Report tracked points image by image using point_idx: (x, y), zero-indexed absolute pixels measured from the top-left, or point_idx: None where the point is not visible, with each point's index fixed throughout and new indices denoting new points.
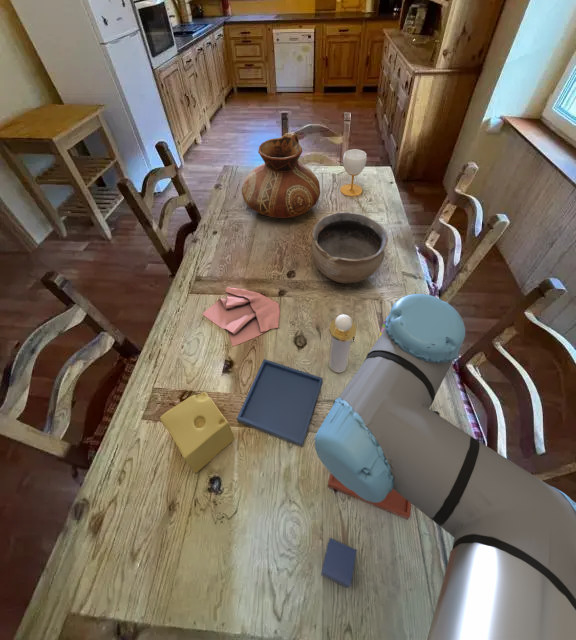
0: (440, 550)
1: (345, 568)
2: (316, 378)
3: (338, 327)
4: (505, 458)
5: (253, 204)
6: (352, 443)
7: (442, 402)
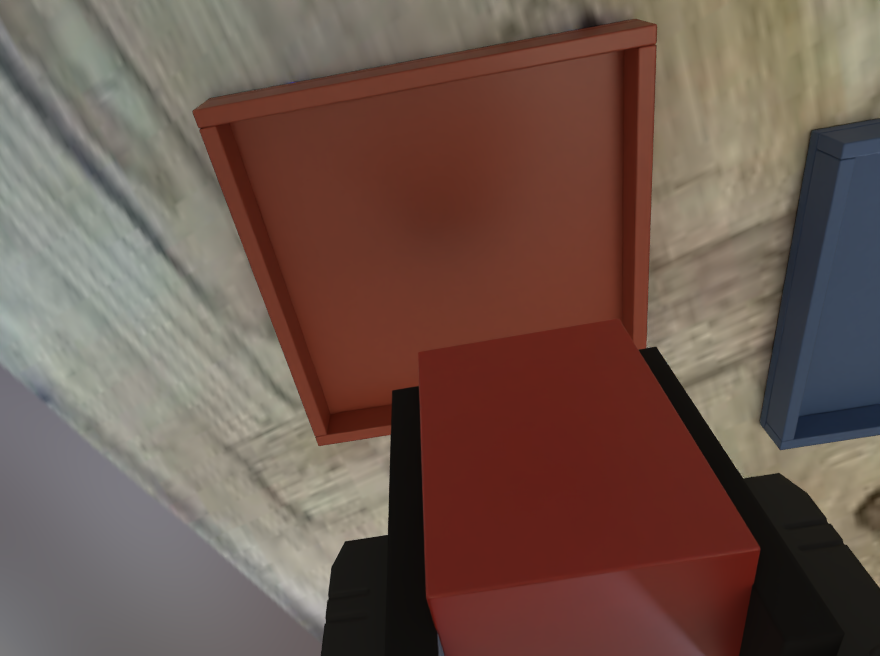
0: (14, 52)
1: None
2: (810, 436)
3: None
4: None
5: None
6: None
7: (281, 550)
